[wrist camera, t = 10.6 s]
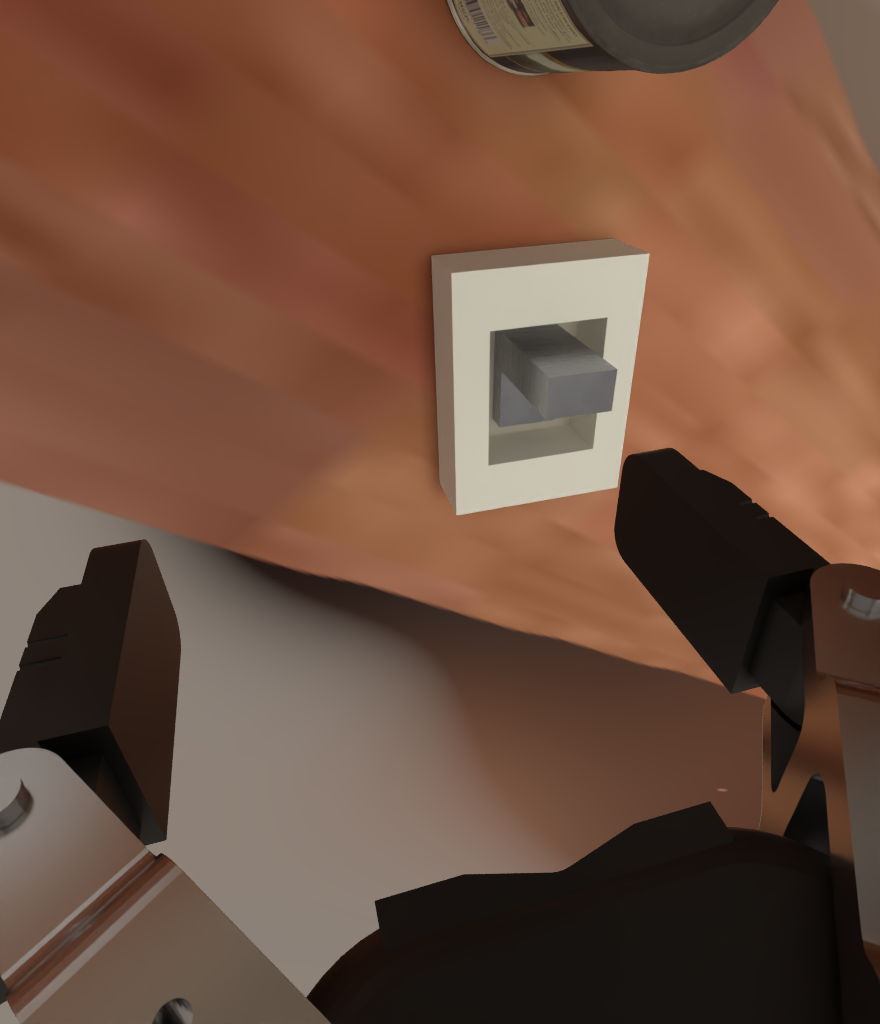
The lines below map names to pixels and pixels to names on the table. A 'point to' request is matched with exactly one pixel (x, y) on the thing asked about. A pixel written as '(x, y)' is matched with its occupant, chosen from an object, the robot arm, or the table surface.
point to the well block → (470, 367)
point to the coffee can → (605, 33)
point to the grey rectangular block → (547, 376)
